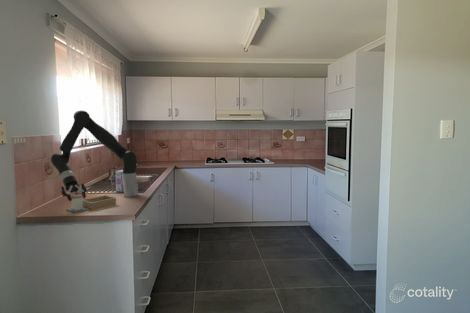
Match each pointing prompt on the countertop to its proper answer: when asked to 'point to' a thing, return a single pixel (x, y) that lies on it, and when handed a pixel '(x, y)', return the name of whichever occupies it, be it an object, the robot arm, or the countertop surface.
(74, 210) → the slate mat
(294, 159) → the countertop surface
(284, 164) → the countertop surface
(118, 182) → the candy box
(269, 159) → the countertop surface
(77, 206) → the tea box
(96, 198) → the carton
